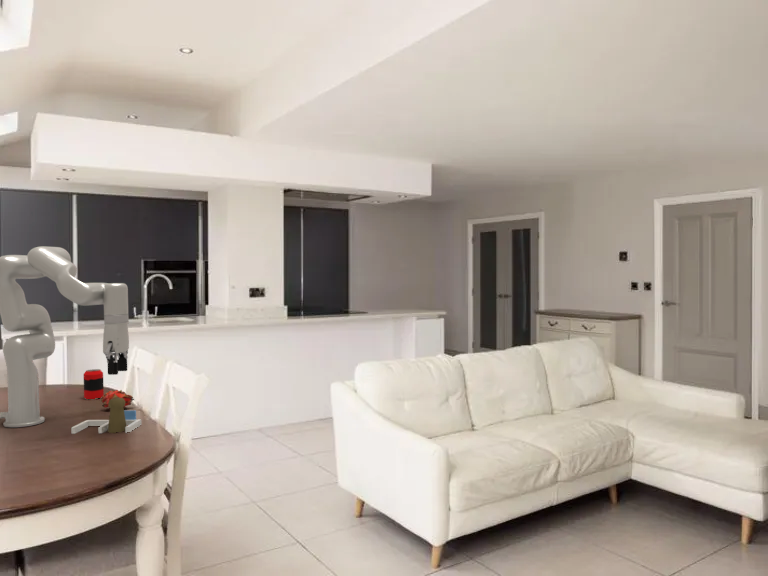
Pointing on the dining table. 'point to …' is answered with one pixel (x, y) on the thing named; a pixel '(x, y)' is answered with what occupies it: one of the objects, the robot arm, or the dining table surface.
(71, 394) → the dining table surface
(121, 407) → the olive rounded piece
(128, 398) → the dragon fruit
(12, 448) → the dining table surface
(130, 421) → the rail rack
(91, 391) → the soda can
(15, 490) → the dining table surface
